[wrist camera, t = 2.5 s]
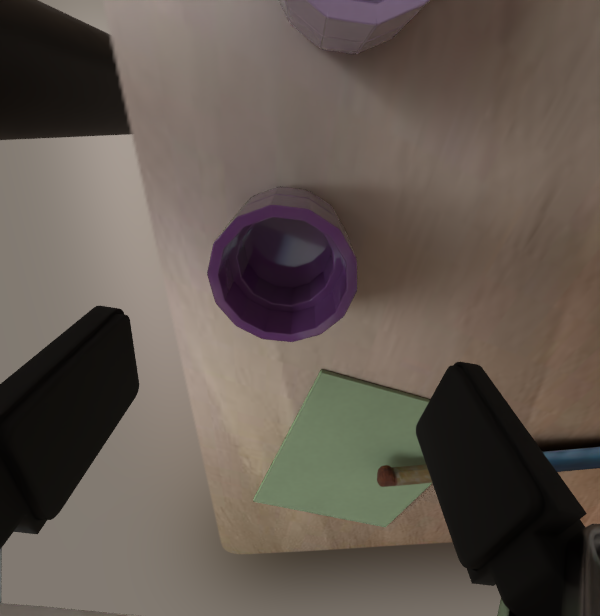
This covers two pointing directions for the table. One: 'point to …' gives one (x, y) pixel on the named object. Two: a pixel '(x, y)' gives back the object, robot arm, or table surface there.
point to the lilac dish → (350, 21)
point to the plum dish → (284, 266)
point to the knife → (557, 458)
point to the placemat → (347, 452)
